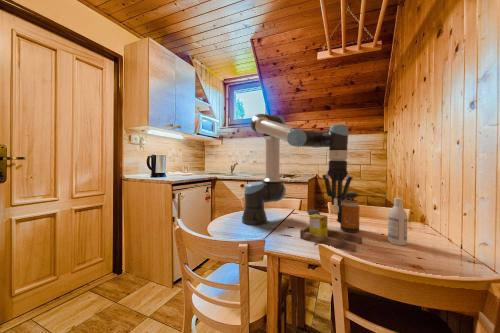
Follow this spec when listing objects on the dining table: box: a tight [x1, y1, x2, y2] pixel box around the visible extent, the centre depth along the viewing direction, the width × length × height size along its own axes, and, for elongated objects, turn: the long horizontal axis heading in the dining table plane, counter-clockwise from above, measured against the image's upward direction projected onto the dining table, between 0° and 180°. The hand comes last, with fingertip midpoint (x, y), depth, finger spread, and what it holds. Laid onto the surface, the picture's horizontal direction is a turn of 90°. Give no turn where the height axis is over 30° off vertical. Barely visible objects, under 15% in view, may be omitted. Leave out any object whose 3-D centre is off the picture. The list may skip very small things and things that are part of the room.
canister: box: [336, 192, 361, 233], centre depth 112 cm, size 9×11×20 cm
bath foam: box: [387, 197, 409, 246], centre depth 95 cm, size 7×7×20 cm
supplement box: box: [309, 213, 328, 237], centre depth 101 cm, size 6×6×11 cm
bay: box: [299, 208, 363, 253], centre depth 100 cm, size 26×15×11 cm, turn 50°
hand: (336, 212), depth 97 cm, fingers closed
